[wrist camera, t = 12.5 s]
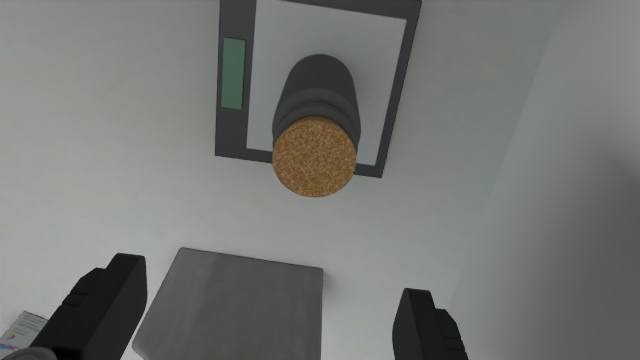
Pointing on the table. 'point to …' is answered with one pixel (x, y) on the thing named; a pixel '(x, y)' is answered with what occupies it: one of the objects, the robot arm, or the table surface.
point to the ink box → (21, 333)
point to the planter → (233, 311)
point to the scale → (297, 43)
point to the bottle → (316, 127)
